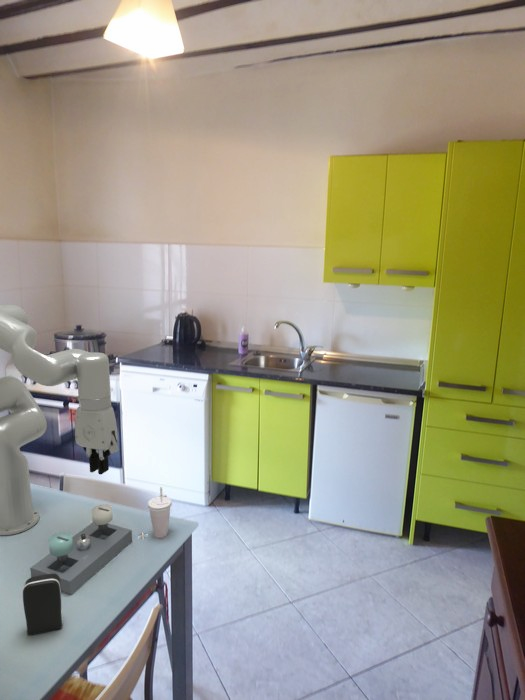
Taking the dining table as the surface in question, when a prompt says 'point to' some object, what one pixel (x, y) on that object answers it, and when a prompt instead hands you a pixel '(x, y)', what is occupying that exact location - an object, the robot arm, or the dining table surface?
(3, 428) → the robot arm
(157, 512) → the smoothie
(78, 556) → the mount
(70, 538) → the knob
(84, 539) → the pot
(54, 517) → the dining table surface
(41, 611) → the black rounded upright block
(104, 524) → the knob
